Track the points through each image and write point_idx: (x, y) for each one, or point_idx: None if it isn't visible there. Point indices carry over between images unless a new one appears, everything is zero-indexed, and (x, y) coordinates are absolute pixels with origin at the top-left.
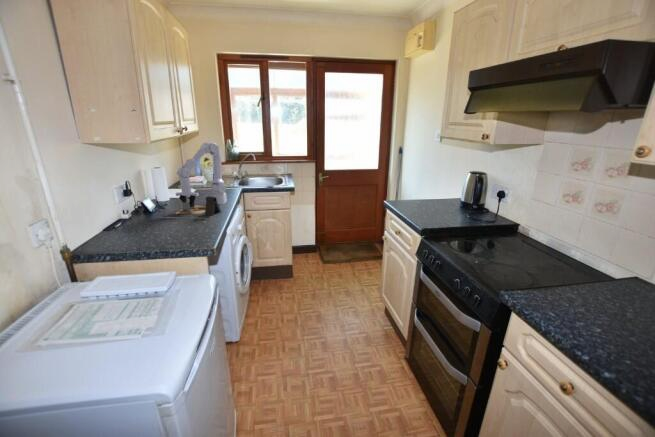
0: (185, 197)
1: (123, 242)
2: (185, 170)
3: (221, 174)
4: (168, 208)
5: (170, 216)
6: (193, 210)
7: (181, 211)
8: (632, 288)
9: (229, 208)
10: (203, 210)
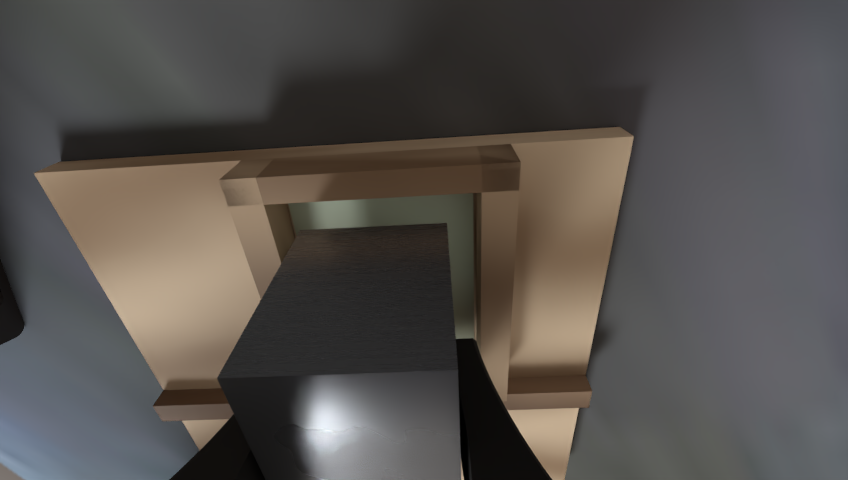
0: None
1: None
2: None
3: None
4: (840, 399)
5: (683, 7)
6: (251, 264)
7: (467, 165)
8: None
9: (2, 456)
10: (189, 344)
